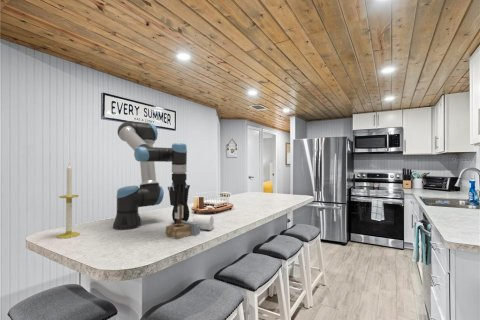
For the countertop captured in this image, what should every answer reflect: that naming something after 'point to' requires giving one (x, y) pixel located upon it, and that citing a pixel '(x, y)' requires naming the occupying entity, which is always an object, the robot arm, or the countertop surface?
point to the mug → (204, 221)
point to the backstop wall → (192, 227)
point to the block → (178, 230)
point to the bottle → (185, 213)
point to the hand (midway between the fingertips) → (179, 218)
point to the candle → (69, 207)
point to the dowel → (180, 214)
